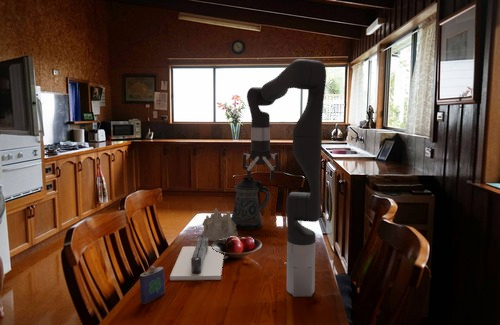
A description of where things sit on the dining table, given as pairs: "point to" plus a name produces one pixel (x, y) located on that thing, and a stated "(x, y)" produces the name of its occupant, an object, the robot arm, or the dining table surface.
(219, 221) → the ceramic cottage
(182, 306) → the dining table surface
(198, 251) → the tongs arm
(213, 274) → the cutting board
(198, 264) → the arm
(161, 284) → the flask
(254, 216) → the beer stein
